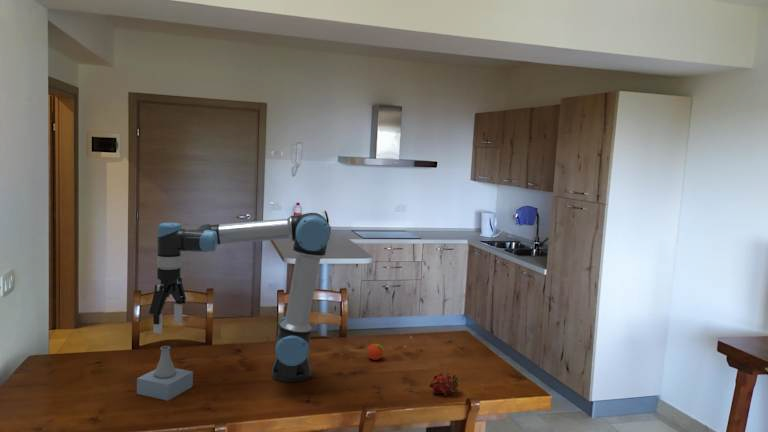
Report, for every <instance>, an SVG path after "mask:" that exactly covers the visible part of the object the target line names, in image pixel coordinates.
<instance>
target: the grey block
mask: <svg viewBox="0 0 768 432" xmlns="http://www.w3.org/2000/svg"><path fill="white" fill-rule="evenodd" d="M174 368H175V367H174ZM155 370H156V368H155V369H154V370H151V371H149V372H147V373H145V374H143V375H140V376H139V377H136V394H137V395H141V396H144V397H150V398H155V399H159V400H162V401H167V402H169V401H170V400H172V399H174V398H175V397H177V396H179V395H180V394H182V393H184V392H186V391H188V390H189V389H191V388H193V386H194V385H193V382H194V381H193V378H194V377H193V376H194V371H192V370H191V371H190V370H187V369H182V368H177V367H176V368H175V370H176V374H175V375H174V376H171V377H169V378H157V377H155V376H153V375H154V372H155Z"/></svg>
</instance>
